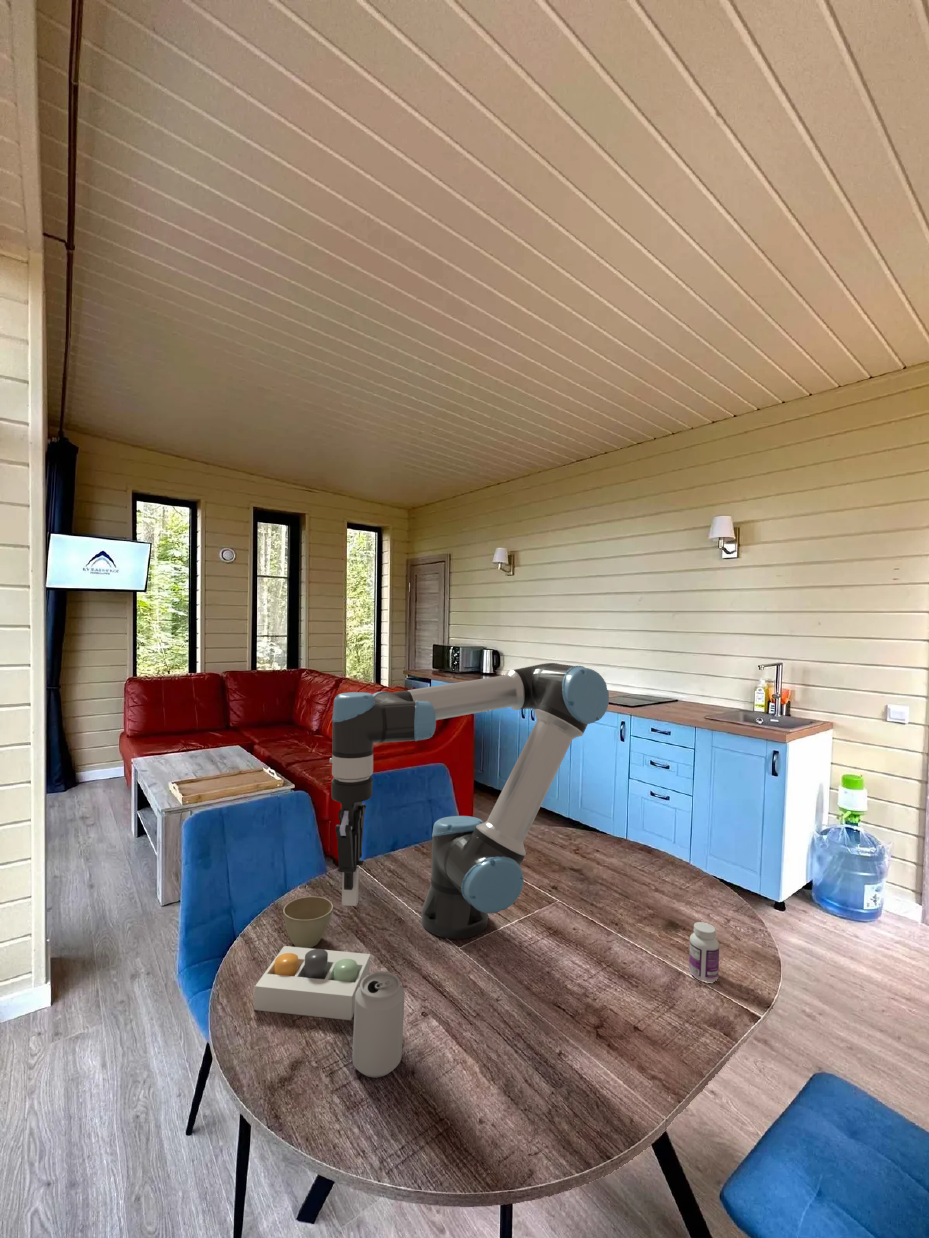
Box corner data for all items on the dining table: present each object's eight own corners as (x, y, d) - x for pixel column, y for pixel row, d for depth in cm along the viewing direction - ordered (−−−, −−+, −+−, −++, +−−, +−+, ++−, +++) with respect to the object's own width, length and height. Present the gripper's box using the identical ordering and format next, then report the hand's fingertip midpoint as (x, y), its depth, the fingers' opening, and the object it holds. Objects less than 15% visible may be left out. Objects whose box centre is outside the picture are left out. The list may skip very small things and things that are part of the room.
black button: (329, 971, 100) (330, 949, 100) (322, 985, 96) (323, 963, 96) (308, 969, 101) (309, 947, 101) (300, 983, 97) (301, 960, 97)
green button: (358, 981, 100) (359, 959, 100) (352, 996, 96) (353, 973, 96) (337, 979, 100) (338, 957, 100) (330, 993, 96) (331, 971, 96)
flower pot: (317, 959, 108) (319, 923, 108) (272, 951, 110) (273, 915, 110) (339, 932, 118) (340, 899, 118) (296, 925, 120) (298, 892, 120)
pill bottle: (716, 971, 110) (718, 923, 110) (719, 987, 105) (721, 936, 105) (687, 964, 112) (689, 917, 112) (689, 980, 107) (691, 930, 107)
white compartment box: (369, 975, 104) (370, 954, 104) (350, 1020, 92) (352, 996, 92) (283, 966, 105) (284, 945, 105) (253, 1009, 93) (255, 986, 93)
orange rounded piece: (300, 975, 101) (301, 954, 101) (291, 989, 97) (293, 967, 97) (279, 973, 101) (280, 951, 101) (270, 987, 97) (271, 965, 97)
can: (354, 1043, 87) (358, 967, 87) (402, 1042, 87) (405, 966, 88) (348, 1082, 79) (352, 999, 80) (400, 1081, 80) (404, 998, 80)
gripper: (342, 766, 108) (339, 885, 108) (321, 786, 95) (318, 921, 95) (379, 767, 108) (377, 887, 108) (363, 787, 95) (361, 923, 95)
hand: (349, 903), depth 101 cm, fingers closed
